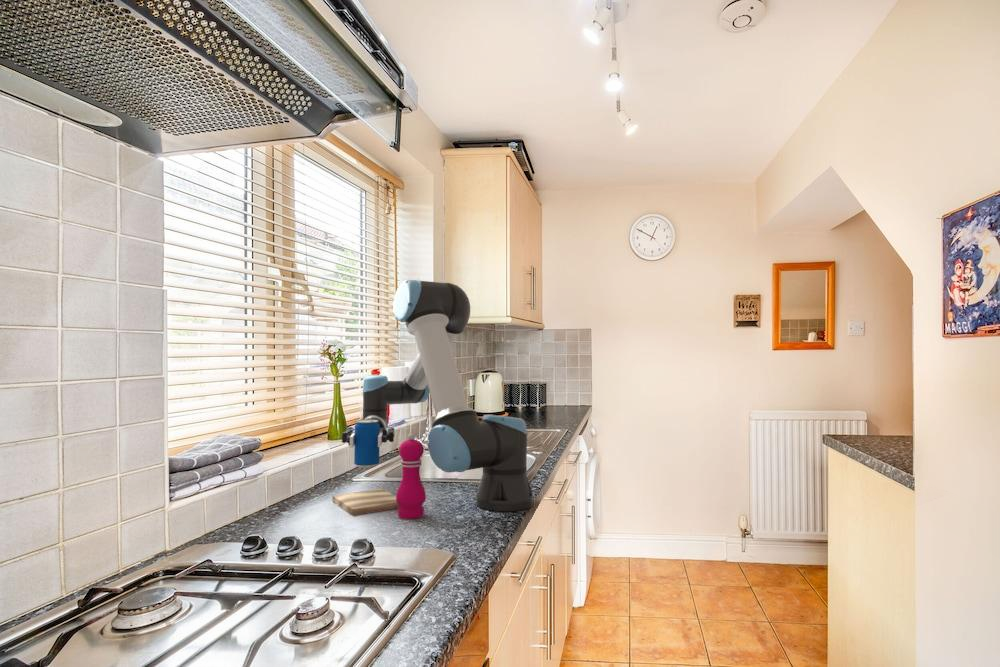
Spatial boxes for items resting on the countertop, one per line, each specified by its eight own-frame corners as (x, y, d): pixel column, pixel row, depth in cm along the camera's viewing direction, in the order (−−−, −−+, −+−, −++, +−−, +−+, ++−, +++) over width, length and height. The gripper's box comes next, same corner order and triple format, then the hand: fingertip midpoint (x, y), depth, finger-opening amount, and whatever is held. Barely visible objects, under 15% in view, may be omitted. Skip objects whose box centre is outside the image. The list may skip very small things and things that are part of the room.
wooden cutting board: (405, 506, 144) (405, 500, 144) (352, 515, 137) (352, 509, 137) (381, 493, 158) (382, 488, 158) (332, 501, 150) (332, 495, 150)
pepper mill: (419, 520, 132) (420, 435, 133) (391, 518, 134) (391, 435, 135) (429, 512, 139) (430, 431, 140) (402, 510, 141) (402, 431, 142)
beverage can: (384, 466, 149) (384, 420, 149) (363, 469, 144) (363, 423, 144) (370, 462, 153) (370, 418, 153) (349, 466, 148) (350, 420, 149)
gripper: (405, 441, 168) (403, 455, 145) (338, 442, 165) (326, 457, 142) (405, 416, 168) (403, 426, 145) (339, 417, 165) (326, 427, 142)
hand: (365, 441), depth 144 cm, fingers closed on beverage can, 6 cm apart
